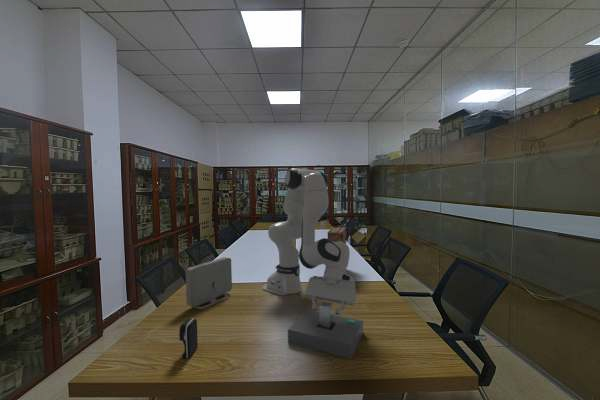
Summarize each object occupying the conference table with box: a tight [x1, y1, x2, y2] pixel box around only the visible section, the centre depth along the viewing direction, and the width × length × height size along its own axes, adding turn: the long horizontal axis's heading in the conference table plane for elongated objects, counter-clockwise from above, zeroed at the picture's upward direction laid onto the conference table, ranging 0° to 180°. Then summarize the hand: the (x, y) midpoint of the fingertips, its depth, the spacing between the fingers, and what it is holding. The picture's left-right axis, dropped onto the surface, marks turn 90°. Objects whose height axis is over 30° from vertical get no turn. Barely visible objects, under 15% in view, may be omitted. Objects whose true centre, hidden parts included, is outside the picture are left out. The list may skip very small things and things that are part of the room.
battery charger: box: [178, 318, 199, 359], centre depth 96 cm, size 7×4×11 cm, turn 177°
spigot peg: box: [318, 301, 334, 330], centre depth 104 cm, size 4×4×12 cm
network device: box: [185, 256, 233, 310], centre depth 140 cm, size 26×9×20 cm, turn 148°
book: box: [327, 226, 347, 245], centre depth 179 cm, size 25×9×30 cm, turn 166°
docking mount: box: [287, 309, 364, 360], centre depth 105 cm, size 24×18×5 cm
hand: (325, 311), depth 104 cm, fingers open, 8 cm apart
